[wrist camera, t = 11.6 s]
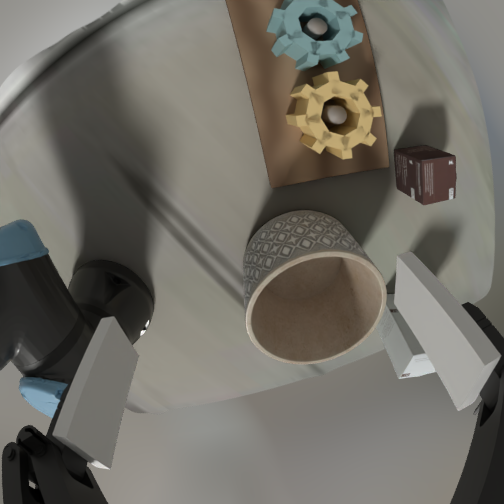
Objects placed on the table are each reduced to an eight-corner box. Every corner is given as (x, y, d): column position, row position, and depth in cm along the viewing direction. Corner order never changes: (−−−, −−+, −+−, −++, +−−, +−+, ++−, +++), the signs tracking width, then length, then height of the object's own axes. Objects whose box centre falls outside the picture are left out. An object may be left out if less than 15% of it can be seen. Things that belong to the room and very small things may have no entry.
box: (392, 148, 35) (421, 159, 28) (425, 144, 34) (456, 154, 28) (395, 189, 38) (422, 206, 31) (427, 183, 37) (456, 199, 31)
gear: (277, 74, 28) (285, 67, 23) (260, 9, 24) (264, -9, 19) (349, 67, 28) (369, 61, 23) (332, 4, 24) (349, -12, 18)
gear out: (313, 162, 34) (327, 173, 28) (271, 101, 30) (279, 100, 25) (370, 127, 31) (393, 132, 26) (333, 65, 28) (352, 59, 23)
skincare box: (415, 291, 47) (455, 346, 34) (405, 316, 49) (439, 372, 36) (377, 293, 46) (415, 355, 33) (368, 320, 49) (399, 382, 36)
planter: (371, 254, 42) (408, 304, 31) (296, 320, 48) (311, 379, 36) (300, 182, 37) (328, 217, 26) (219, 265, 42) (214, 325, 31)
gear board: (270, 184, 37) (277, 201, 30) (224, -3, 24) (222, -25, 18) (382, 163, 36) (408, 176, 30) (346, -13, 24) (366, -31, 17)
